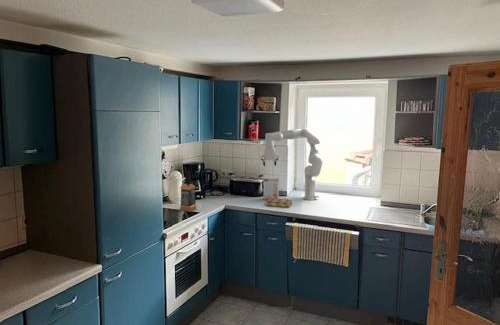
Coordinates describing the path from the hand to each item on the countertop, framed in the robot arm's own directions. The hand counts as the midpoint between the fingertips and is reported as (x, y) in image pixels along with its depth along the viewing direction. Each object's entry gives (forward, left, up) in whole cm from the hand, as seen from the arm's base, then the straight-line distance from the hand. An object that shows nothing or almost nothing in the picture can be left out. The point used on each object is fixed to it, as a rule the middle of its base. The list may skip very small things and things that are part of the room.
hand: (269, 165), depth 335 cm
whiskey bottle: (+56, +52, -33) cm, 83 cm away
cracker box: (0, -8, -33) cm, 34 cm away
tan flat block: (-12, +11, -33) cm, 37 cm away
